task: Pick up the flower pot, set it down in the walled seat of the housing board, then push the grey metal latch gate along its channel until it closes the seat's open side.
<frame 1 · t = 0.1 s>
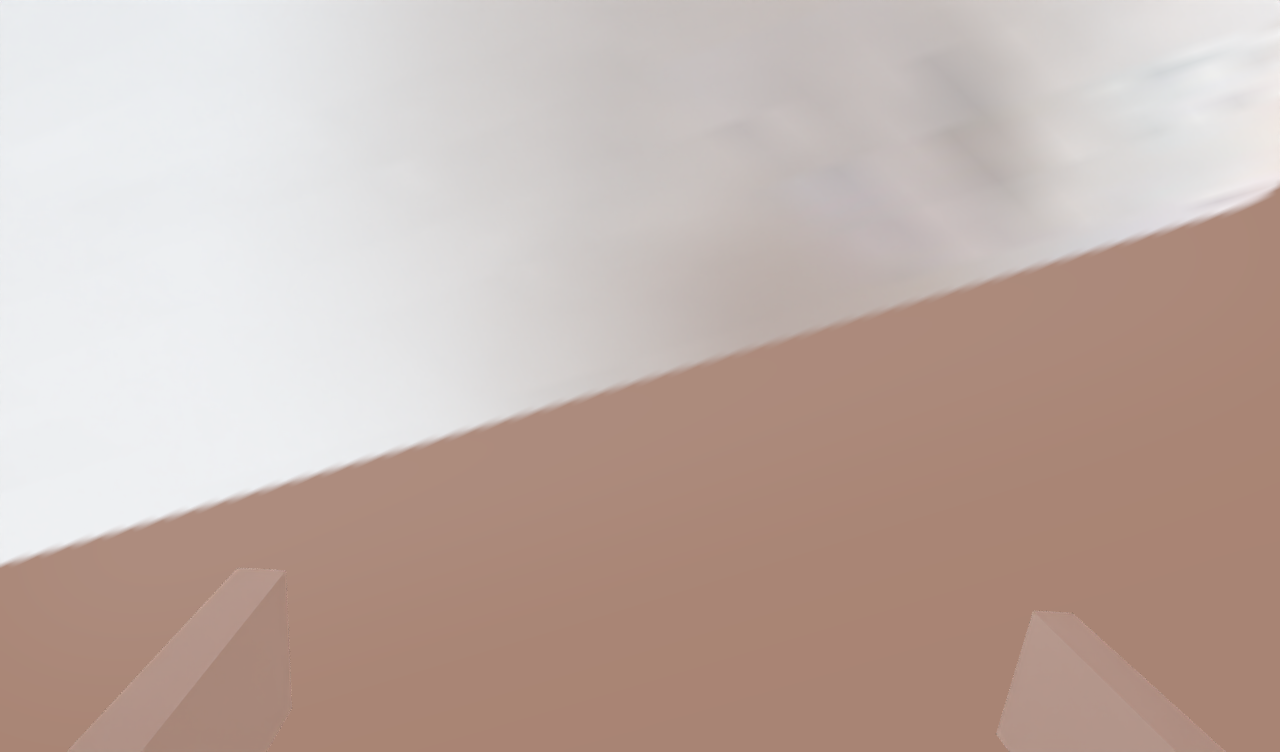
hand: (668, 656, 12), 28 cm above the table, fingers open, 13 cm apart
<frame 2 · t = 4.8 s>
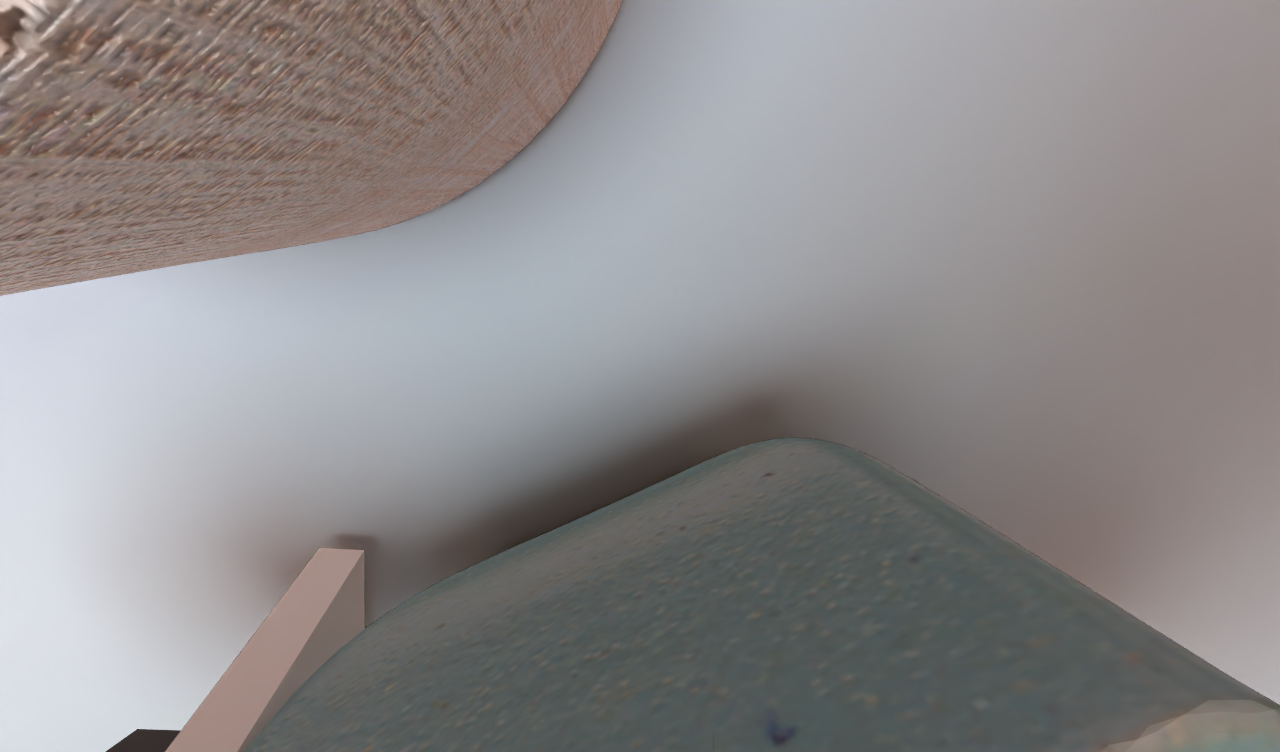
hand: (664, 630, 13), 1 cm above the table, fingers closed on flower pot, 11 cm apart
flower pot: (663, 605, 13), on the table, touching gripper
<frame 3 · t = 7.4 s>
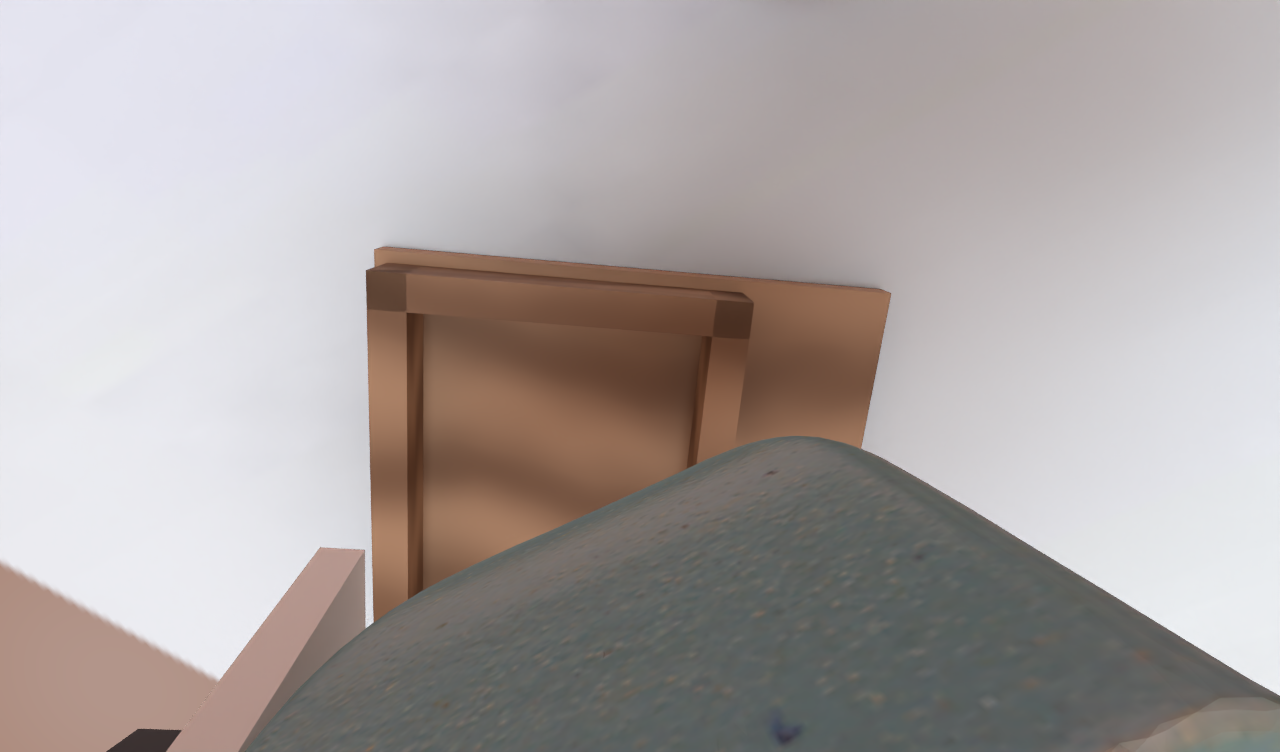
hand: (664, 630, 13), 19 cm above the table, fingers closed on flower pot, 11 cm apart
flower pot: (664, 604, 13), point 18 cm above the table, touching gripper
housing: (618, 485, 33), on the table
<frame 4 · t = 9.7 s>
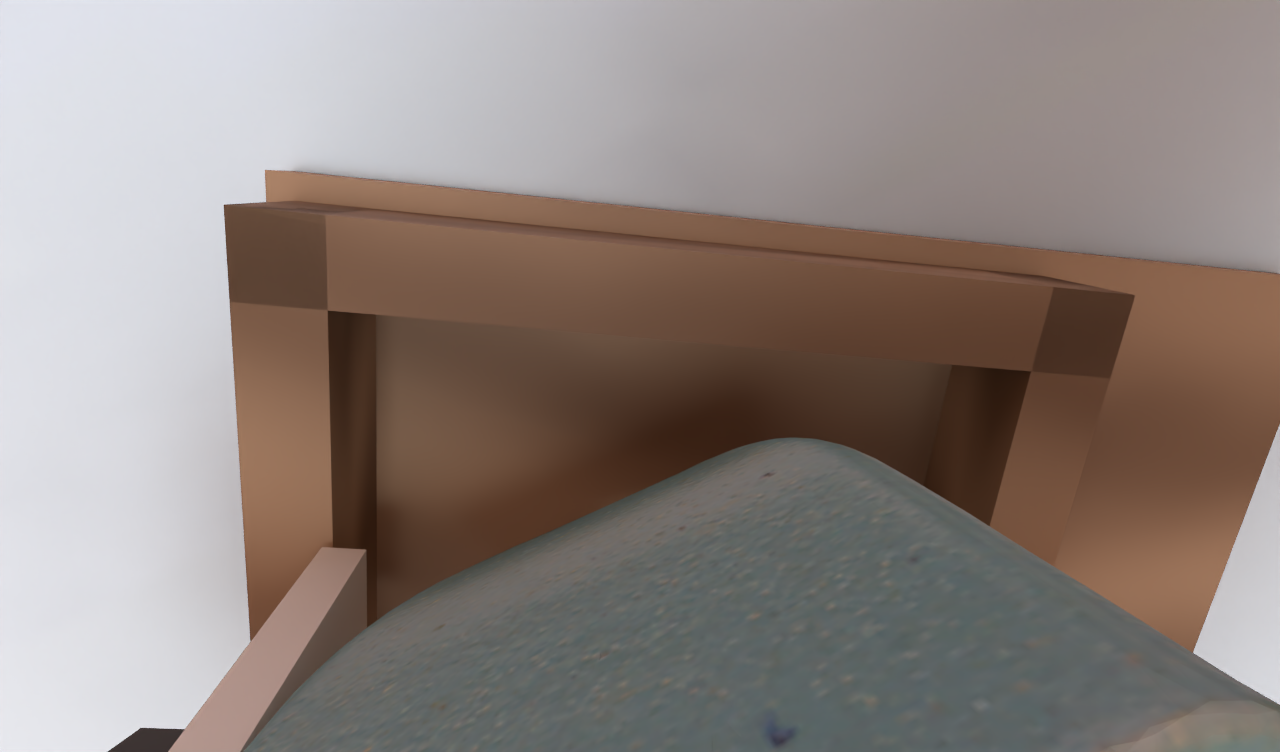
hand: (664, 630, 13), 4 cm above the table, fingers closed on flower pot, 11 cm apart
flower pot: (662, 605, 13), point 3 cm above the table, touching gripper
housing: (748, 638, 17), on the table
when the fingers open (4 cm above the table, at t = 9.9 s): flower pot drops 2 cm, resting on housing.
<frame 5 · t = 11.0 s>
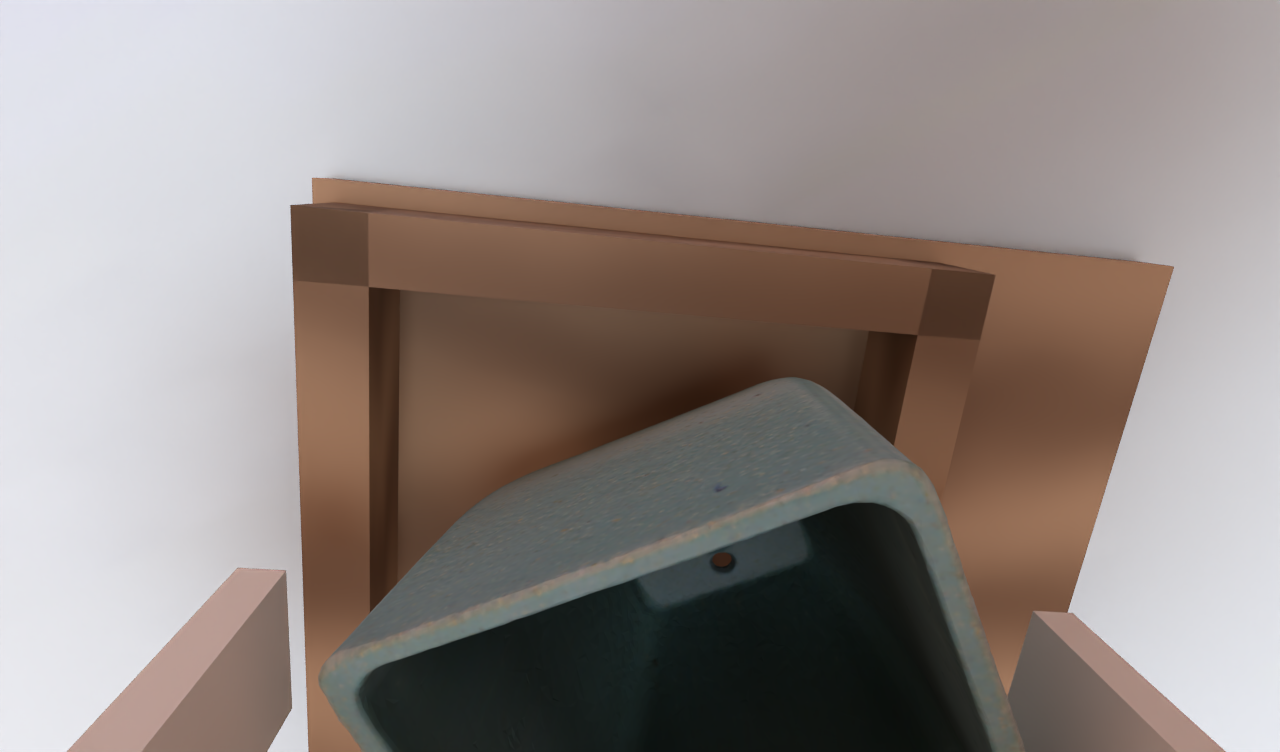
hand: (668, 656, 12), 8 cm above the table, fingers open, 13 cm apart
flower pot: (702, 504, 18), point 2 cm above the table, touching housing
housing: (709, 571, 21), on the table
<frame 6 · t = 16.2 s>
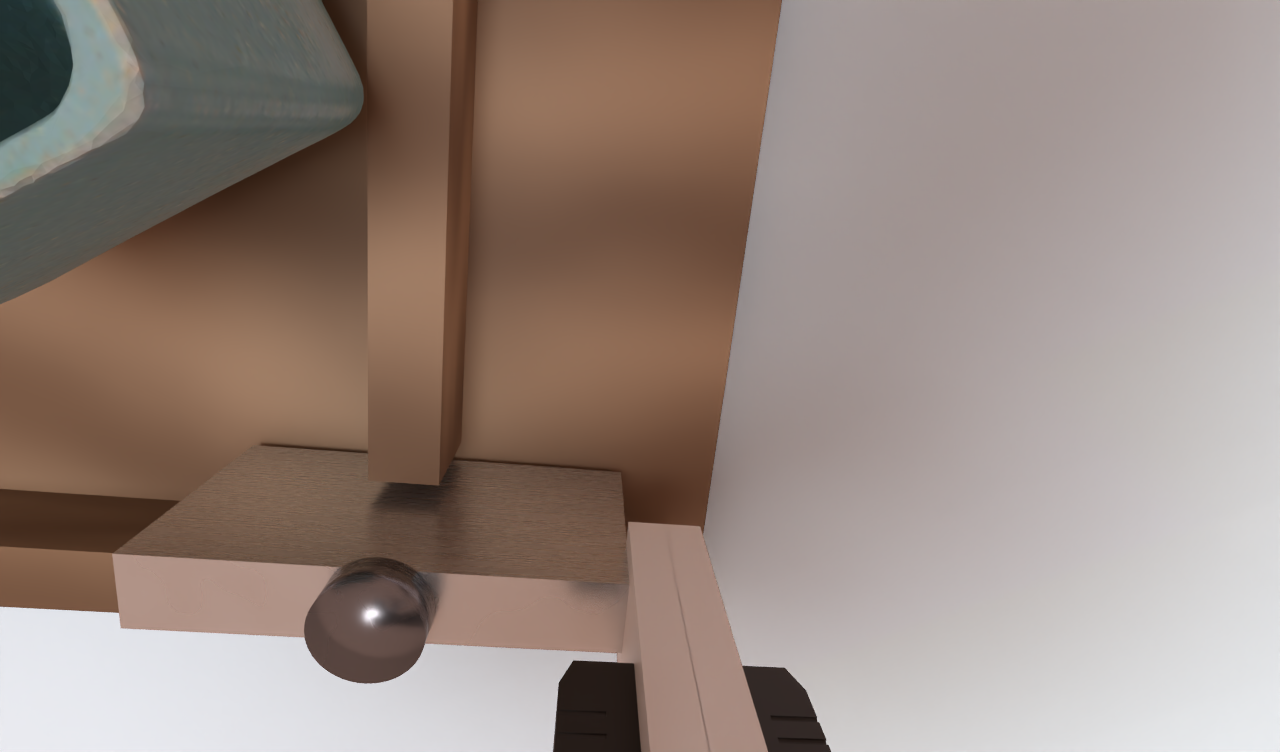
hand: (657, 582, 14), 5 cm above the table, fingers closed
flower pot: (210, 31, 14), point 1 cm above the table, touching housing
housing: (289, 181, 16), on the table
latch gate: (410, 545, 14), point 4 cm above the table, slide at 8.1 cm, touching gripper
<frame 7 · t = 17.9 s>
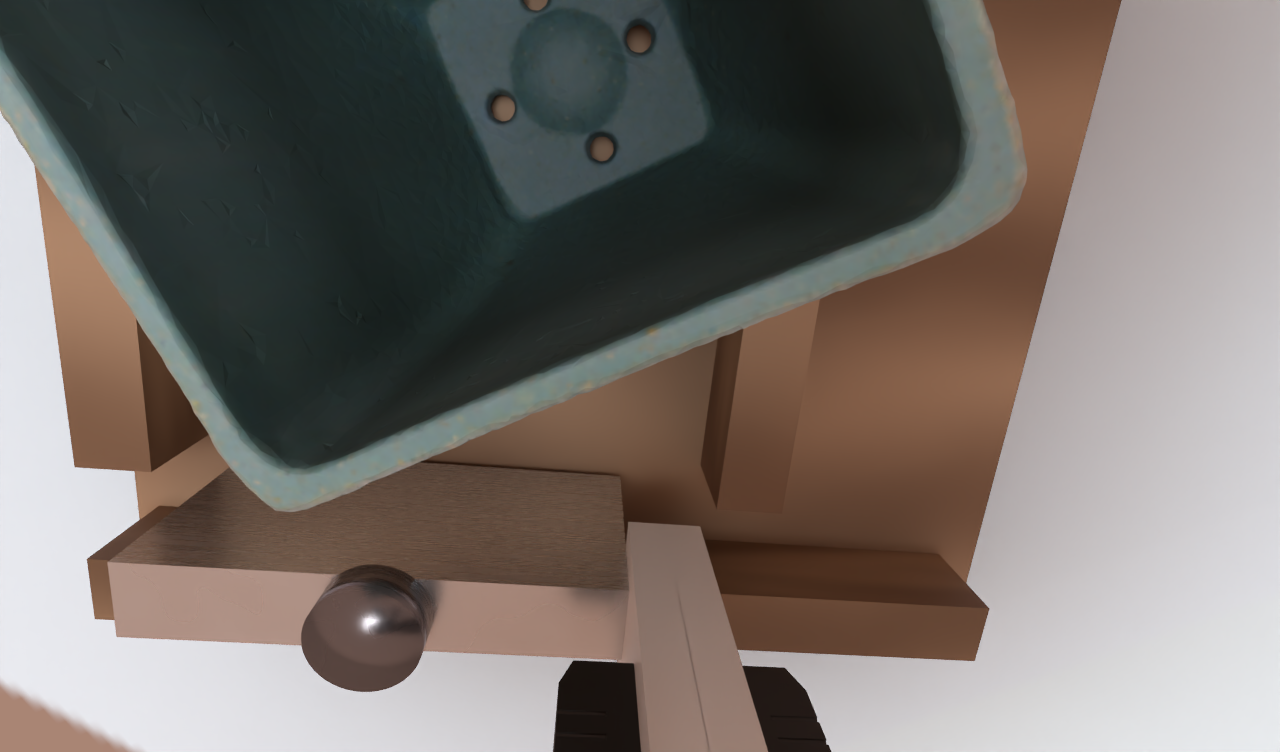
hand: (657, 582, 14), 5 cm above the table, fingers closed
flower pot: (578, 79, 15), point 1 cm above the table, touching housing
housing: (604, 218, 17), on the table
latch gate: (408, 552, 14), point 4 cm above the table, slide at 0.4 cm, touching gripper
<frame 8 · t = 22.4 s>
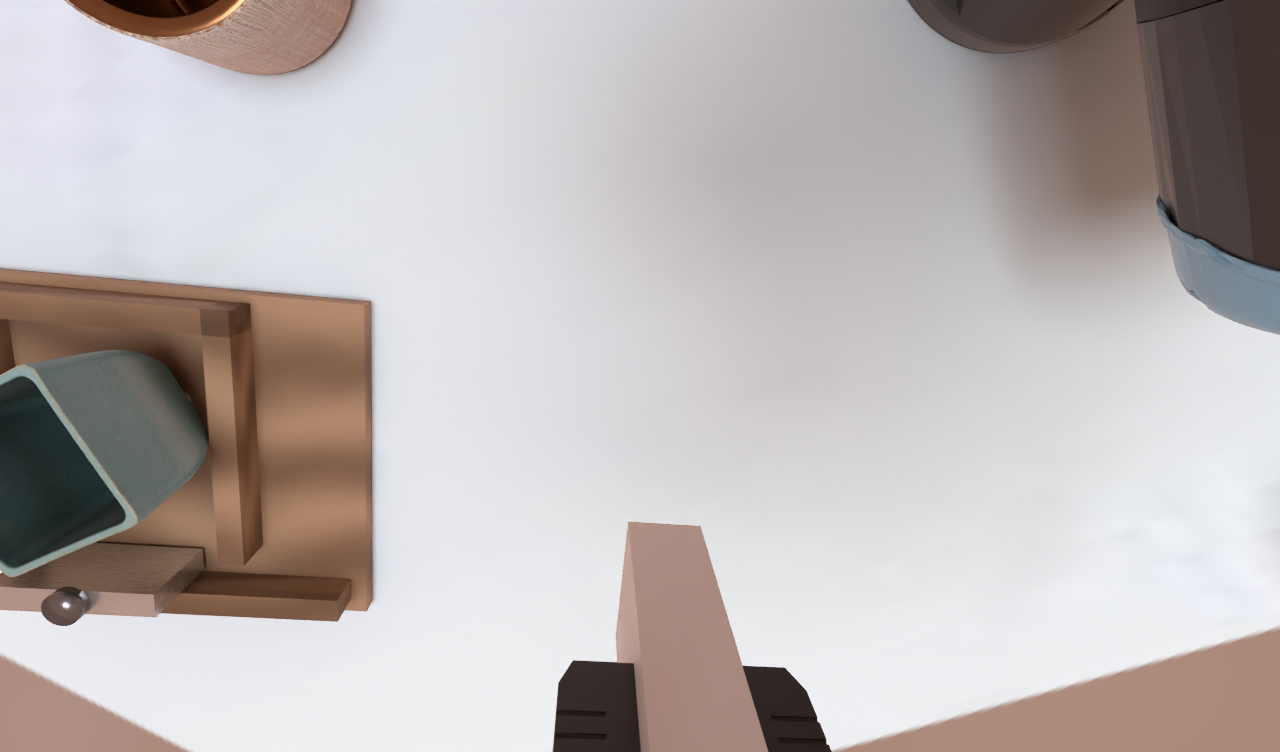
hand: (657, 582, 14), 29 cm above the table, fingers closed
flower pot: (161, 412, 41), point 1 cm above the table, touching housing
housing: (194, 448, 43), on the table
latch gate: (97, 580, 40), point 4 cm above the table, slide at 0.4 cm
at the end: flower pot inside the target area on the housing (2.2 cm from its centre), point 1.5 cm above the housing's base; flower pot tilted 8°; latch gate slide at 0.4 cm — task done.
